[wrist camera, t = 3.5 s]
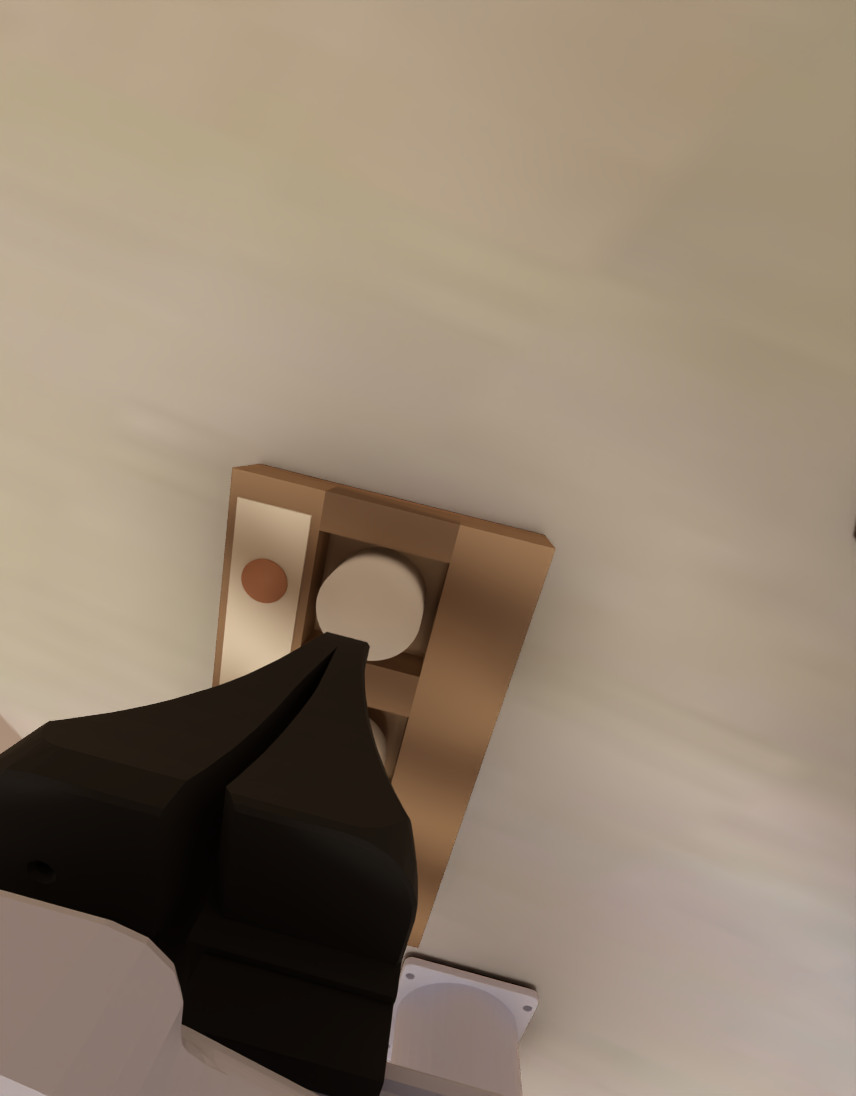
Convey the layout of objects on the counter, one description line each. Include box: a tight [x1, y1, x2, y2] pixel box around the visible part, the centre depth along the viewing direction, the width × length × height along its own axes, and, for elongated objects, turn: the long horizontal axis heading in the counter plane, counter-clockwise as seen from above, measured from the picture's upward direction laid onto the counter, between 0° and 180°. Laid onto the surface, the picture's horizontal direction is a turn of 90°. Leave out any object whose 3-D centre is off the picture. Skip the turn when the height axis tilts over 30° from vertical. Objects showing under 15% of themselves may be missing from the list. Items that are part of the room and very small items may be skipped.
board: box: [212, 464, 555, 948], centre depth 18 cm, size 22×12×2 cm, turn 167°
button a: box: [316, 547, 426, 661], centre depth 16 cm, size 4×4×2 cm
